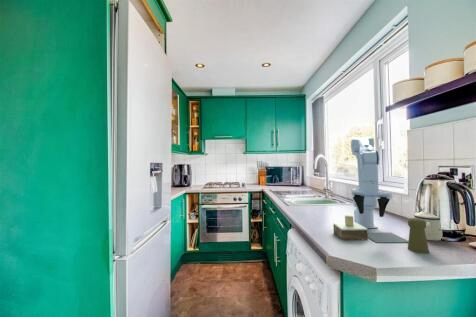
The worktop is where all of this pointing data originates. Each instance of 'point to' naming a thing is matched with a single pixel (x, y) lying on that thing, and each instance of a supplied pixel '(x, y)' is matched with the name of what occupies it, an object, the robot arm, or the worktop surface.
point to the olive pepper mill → (417, 236)
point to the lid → (349, 224)
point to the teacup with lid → (431, 225)
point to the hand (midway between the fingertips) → (371, 214)
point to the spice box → (350, 234)
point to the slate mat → (386, 238)
